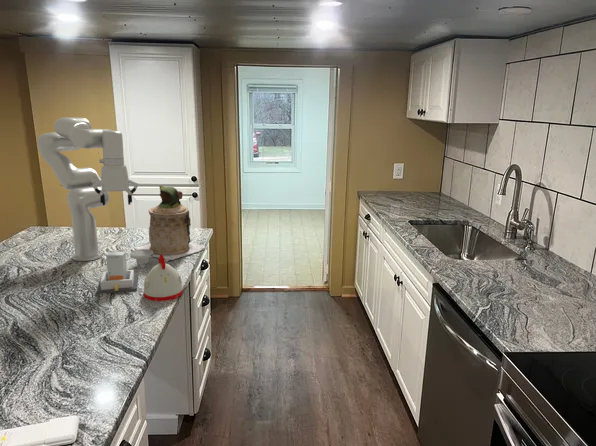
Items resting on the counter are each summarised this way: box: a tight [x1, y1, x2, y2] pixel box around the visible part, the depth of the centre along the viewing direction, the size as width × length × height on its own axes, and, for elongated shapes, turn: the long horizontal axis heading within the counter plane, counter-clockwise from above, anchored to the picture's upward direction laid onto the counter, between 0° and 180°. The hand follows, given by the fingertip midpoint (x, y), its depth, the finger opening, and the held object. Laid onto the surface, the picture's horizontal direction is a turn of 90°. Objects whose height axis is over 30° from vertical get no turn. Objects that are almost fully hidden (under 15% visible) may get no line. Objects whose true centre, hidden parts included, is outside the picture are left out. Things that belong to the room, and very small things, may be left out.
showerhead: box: [129, 248, 153, 268], centre depth 189 cm, size 9×7×10 cm
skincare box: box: [106, 251, 128, 281], centre depth 168 cm, size 6×4×12 cm
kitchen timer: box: [143, 255, 184, 302], centre depth 162 cm, size 14×14×15 cm
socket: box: [95, 269, 139, 295], centre depth 169 cm, size 15×14×4 cm
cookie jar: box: [133, 184, 206, 263], centre depth 208 cm, size 25×25×32 cm
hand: (116, 204), depth 179 cm, fingers open, 9 cm apart
